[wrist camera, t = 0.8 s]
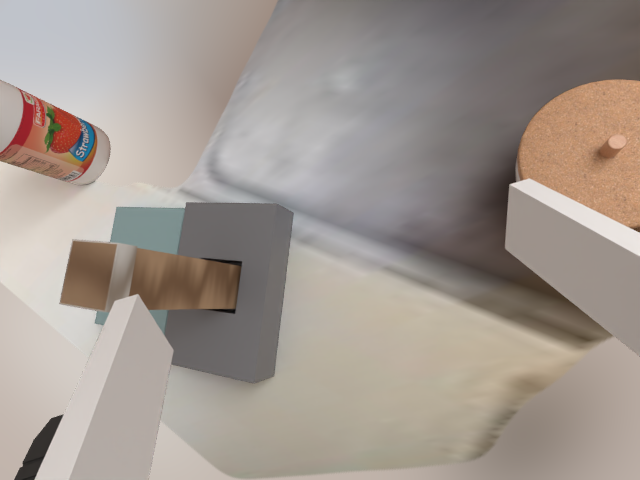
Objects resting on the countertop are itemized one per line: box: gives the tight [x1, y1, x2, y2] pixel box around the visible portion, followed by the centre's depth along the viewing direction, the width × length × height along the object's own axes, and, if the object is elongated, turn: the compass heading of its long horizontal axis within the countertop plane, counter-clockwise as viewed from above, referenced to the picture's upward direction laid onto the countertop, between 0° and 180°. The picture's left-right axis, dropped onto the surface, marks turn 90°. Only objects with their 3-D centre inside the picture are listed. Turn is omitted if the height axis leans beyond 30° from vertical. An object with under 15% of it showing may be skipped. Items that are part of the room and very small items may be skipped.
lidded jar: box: [515, 80, 640, 229], centre depth 27 cm, size 11×11×9 cm
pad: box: [95, 207, 185, 336], centre depth 48 cm, size 16×12×1 cm
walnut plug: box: [59, 239, 242, 312], centre depth 34 cm, size 5×5×18 cm
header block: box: [165, 202, 293, 383], centre depth 40 cm, size 18×12×4 cm, turn 172°
